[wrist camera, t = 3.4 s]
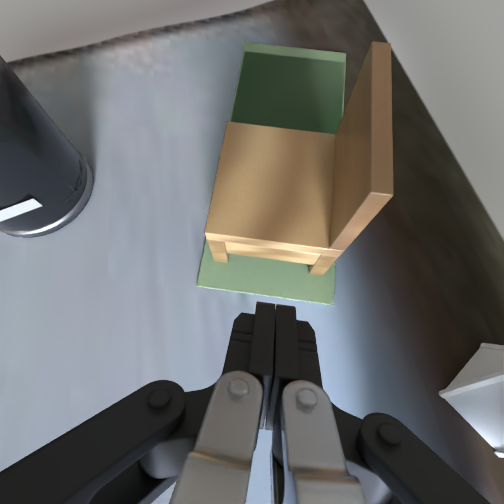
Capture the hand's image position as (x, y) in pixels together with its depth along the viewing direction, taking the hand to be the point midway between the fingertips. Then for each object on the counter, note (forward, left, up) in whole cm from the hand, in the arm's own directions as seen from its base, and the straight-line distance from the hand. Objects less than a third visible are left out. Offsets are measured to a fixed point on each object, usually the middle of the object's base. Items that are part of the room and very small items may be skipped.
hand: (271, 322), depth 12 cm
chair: (0, +10, -12) cm, 16 cm away
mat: (0, +17, -12) cm, 21 cm away
